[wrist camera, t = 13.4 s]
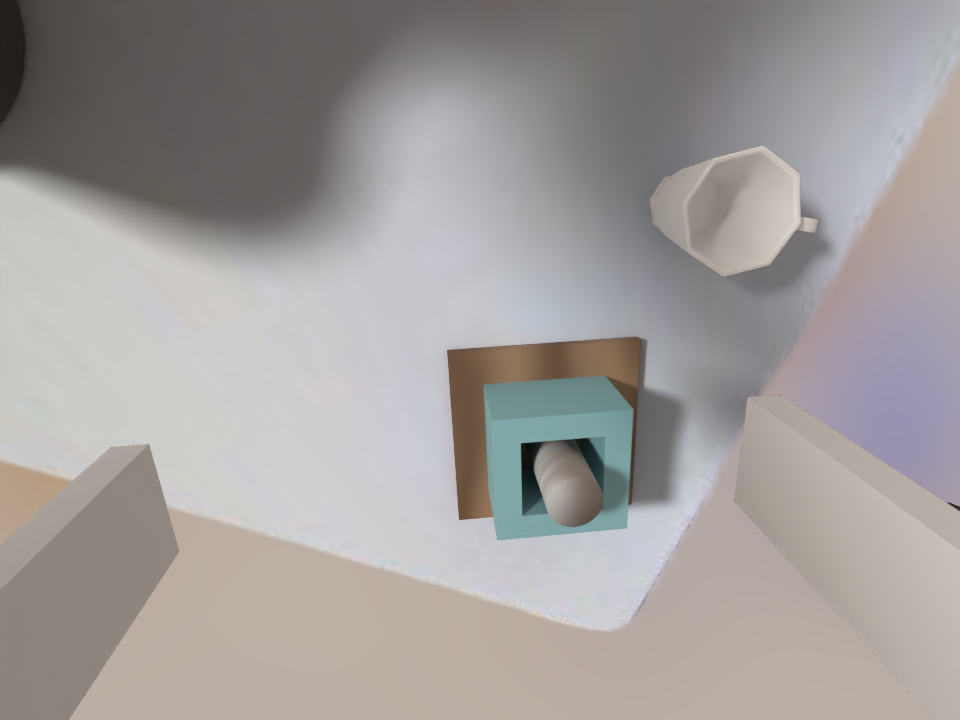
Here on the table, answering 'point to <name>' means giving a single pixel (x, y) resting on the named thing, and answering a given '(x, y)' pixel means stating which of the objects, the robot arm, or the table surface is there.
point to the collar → (548, 417)
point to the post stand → (553, 462)
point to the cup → (732, 209)
